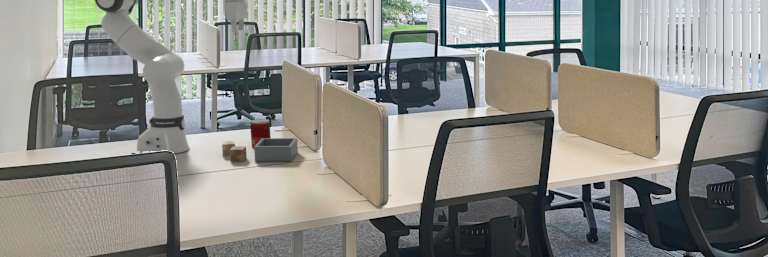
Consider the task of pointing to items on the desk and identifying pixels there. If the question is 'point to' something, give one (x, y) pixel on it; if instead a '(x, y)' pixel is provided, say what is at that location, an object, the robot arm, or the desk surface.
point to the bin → (276, 150)
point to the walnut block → (238, 154)
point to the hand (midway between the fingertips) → (238, 31)
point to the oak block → (227, 147)
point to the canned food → (259, 130)
